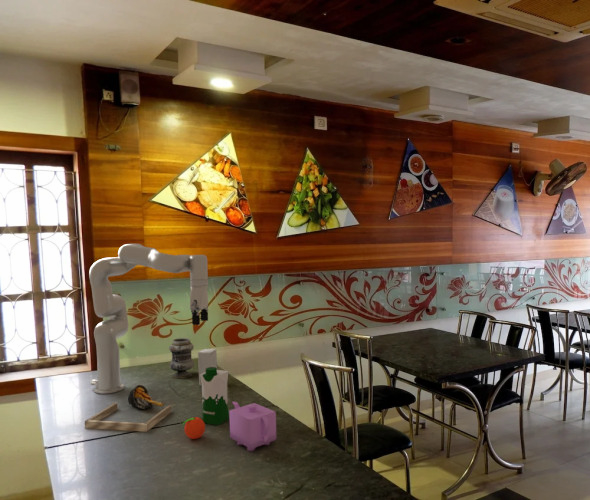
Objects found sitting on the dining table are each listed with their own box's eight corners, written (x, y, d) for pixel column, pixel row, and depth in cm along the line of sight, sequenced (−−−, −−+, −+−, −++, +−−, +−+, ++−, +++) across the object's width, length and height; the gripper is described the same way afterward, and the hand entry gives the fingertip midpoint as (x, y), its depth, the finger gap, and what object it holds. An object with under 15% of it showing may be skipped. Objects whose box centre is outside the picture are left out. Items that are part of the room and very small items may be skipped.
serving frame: (84, 428, 173) (84, 421, 173) (114, 408, 192) (114, 402, 192) (146, 431, 168) (146, 424, 168) (171, 411, 187) (171, 405, 187)
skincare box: (211, 386, 218) (210, 352, 218) (197, 386, 219) (196, 352, 219) (218, 381, 226) (217, 348, 226) (204, 380, 228) (204, 348, 227)
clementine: (184, 444, 156) (183, 423, 156) (179, 437, 163) (178, 416, 162) (208, 439, 160) (207, 418, 160) (202, 432, 166) (201, 412, 166)
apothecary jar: (181, 380, 229) (180, 343, 228) (164, 377, 235) (163, 340, 235) (199, 374, 239) (198, 338, 238) (182, 371, 245) (181, 336, 245)
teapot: (281, 446, 153) (280, 408, 153) (255, 456, 147) (254, 416, 146) (245, 429, 168) (244, 393, 168) (221, 437, 162) (220, 400, 161)
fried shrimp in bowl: (137, 389, 202) (172, 378, 196) (138, 416, 197) (173, 406, 191) (121, 387, 194) (157, 376, 188) (121, 415, 189) (158, 404, 183)
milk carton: (198, 423, 174) (197, 369, 174) (213, 414, 183) (211, 363, 182) (219, 426, 171) (217, 371, 170) (232, 418, 179) (231, 365, 178)
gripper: (198, 281, 216) (199, 319, 217) (182, 285, 199) (184, 326, 200) (214, 281, 215) (215, 319, 215) (199, 285, 198) (201, 326, 198)
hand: (200, 322), depth 208 cm, fingers open, 9 cm apart
